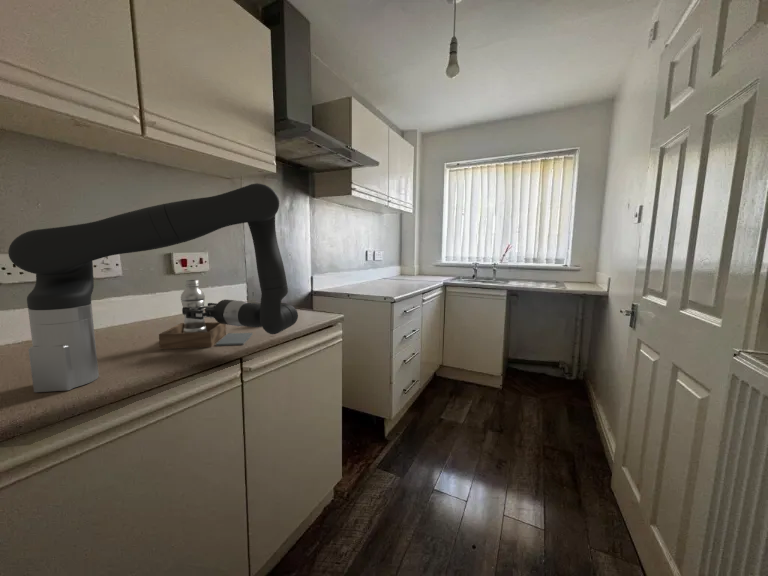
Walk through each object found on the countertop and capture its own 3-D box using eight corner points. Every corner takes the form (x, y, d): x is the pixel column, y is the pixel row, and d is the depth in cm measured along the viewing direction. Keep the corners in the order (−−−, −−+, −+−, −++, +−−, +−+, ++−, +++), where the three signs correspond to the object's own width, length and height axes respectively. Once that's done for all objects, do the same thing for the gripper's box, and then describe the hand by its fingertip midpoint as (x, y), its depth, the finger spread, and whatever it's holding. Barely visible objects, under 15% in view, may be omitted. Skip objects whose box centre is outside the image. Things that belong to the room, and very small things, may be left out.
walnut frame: (211, 346, 91) (210, 332, 90) (159, 348, 88) (158, 334, 88) (226, 334, 104) (225, 322, 104) (182, 335, 102) (181, 323, 101)
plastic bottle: (212, 340, 98) (208, 280, 95) (190, 345, 92) (186, 281, 89) (200, 337, 101) (197, 278, 98) (179, 342, 95) (175, 280, 92)
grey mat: (243, 344, 94) (243, 342, 94) (215, 345, 92) (215, 343, 92) (252, 334, 105) (252, 332, 105) (228, 335, 104) (228, 333, 104)
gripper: (252, 297, 95) (215, 293, 101) (213, 304, 82) (173, 299, 87) (253, 320, 96) (216, 315, 102) (215, 330, 83) (174, 324, 88)
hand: (196, 308), depth 95 cm, fingers open, 8 cm apart
